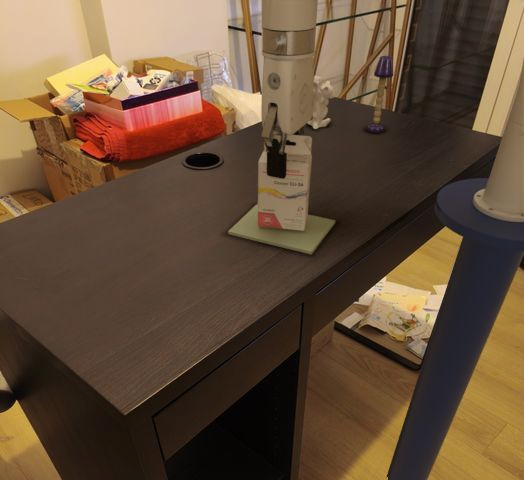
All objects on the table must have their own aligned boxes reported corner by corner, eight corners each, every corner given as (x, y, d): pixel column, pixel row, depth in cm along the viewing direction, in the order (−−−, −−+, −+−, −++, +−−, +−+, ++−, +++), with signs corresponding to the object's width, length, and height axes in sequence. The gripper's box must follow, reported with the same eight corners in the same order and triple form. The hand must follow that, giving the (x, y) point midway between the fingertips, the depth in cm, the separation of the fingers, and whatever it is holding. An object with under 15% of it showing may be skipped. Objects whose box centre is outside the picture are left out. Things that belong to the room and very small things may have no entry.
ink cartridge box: (257, 227, 85) (256, 142, 75) (262, 214, 88) (261, 131, 78) (305, 231, 84) (310, 145, 74) (308, 218, 87) (313, 134, 77)
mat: (335, 223, 88) (335, 220, 88) (311, 254, 80) (311, 251, 80) (257, 206, 93) (257, 203, 93) (228, 234, 85) (227, 231, 85)
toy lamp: (363, 127, 126) (373, 55, 115) (379, 126, 127) (391, 54, 115) (370, 134, 123) (381, 59, 111) (387, 132, 123) (399, 58, 112)
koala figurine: (319, 132, 123) (323, 80, 115) (297, 127, 127) (300, 76, 118) (336, 123, 128) (341, 73, 120) (315, 118, 131) (319, 69, 123)
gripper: (288, 57, 60) (284, 194, 72) (334, 33, 71) (323, 155, 84) (236, 52, 63) (240, 185, 75) (288, 29, 74) (284, 148, 86)
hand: (284, 168), depth 79 cm, fingers closed on ink cartridge box, 5 cm apart
